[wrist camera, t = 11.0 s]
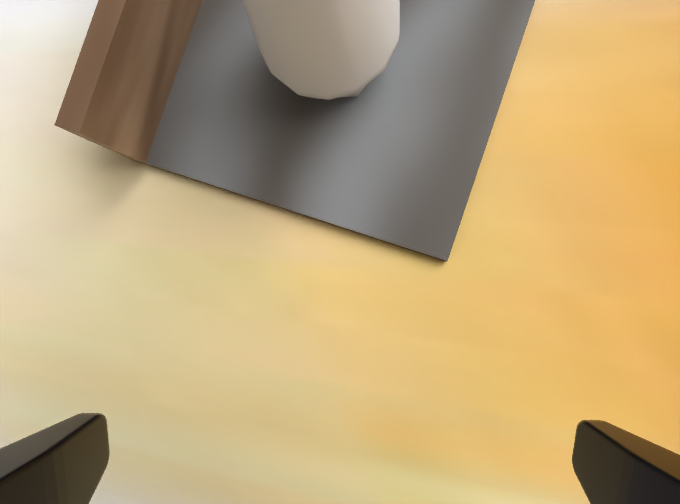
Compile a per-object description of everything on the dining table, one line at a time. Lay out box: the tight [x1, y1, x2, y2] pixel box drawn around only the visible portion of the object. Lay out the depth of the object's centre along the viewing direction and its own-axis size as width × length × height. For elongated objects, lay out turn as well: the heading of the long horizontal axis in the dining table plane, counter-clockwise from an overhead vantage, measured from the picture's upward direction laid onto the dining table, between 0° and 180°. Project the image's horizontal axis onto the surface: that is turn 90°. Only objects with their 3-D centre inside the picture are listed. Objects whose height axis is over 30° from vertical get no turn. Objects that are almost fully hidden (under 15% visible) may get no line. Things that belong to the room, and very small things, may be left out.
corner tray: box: [55, 0, 535, 261], centre depth 17 cm, size 16×16×4 cm
